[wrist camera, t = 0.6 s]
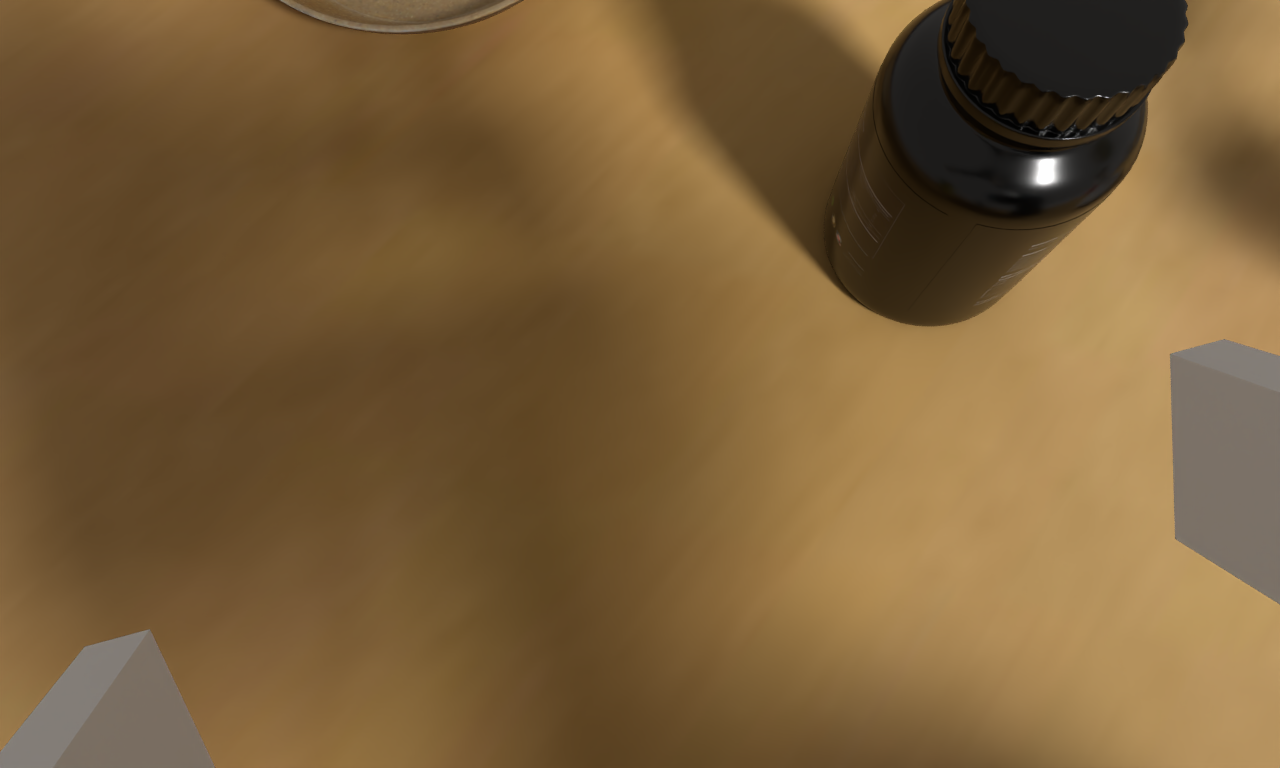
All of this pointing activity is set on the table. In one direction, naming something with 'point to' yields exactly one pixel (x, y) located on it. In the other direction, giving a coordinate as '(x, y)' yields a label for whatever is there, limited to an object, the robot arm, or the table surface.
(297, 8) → the plant saucer
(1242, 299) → the table surface
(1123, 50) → the supplement bottle
